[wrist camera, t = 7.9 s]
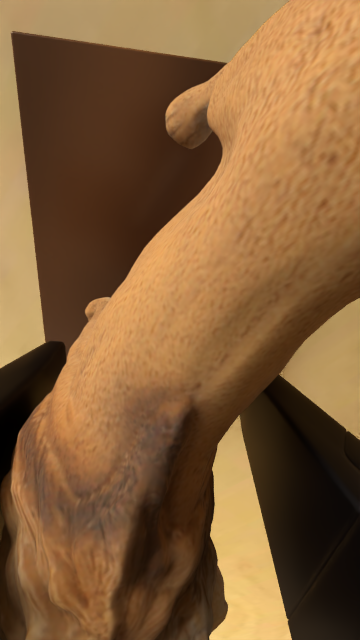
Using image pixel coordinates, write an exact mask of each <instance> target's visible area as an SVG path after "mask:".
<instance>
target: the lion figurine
mask: <svg viewBox="0 0 360 640" xmlns="http://www.w3.org/2000/svg"><path fill="white" fill-rule="evenodd" d="M165 118H166V129H167V132H168V134H169V135H170V137H171V138H172V139H173V140H175V141H176V142H177V143H178V144H180V145H181V146H184V147H186V148H189V149H193V148H195V147H197V146H199V145H200V144H201V143H203V142H204V141H205V140H206V139H207V138H208V136H209V135H210V134H211V132H212V131H213V132H214V133H215V134H216V135H217V136H218V137H219V139H220V141H221V144H222V147H223V155H222V159H221V163H220V165H219V167H218V169H217V171H216V173H215V175H214V176H213V177H212V178H211V180H210V181H209V182H208V183H207V184H206V186H205V187H204V188H203V189H202V190H201V192H200V193H199V194H198V195H197V196H196V197H195V198H194V199H193V200H192V201H191V202H190V203H188V204H187V205H186V206H185V207H184V208H183V209H182V210H181V211H180V212H179V213H178V214H177V215H176V216H174V217H173V218H172V219H171V220H170V221H169V222H168V223H167V224H166V225H165V226H164V227H163V228H162V229H161V230H160V231H159V232H158V233H157V234H156V235H155V236H154V237H153V239H152V240H151V241H150V242H149V243H148V244H147V246H146V247H145V248H144V250H143V251H142V253H141V254H140V256H139V257H138V259H137V260H136V262H135V263H134V265H133V267H132V269H131V270H130V272H129V274H128V276H127V277H126V279H125V280H124V282H123V283H122V284H121V285H120V286H119V287H118V289H117V290H116V291H115V293H114V294H113V295H112V297H111V298H110V297H104V298H99V299H95V300H93V301H92V302H90V303H89V305H88V306H87V308H86V310H85V314H86V316H87V318H88V321H89V322H88V323H87V325H86V326H85V327H84V329H83V330H82V332H81V334H80V336H79V338H78V339H77V340H76V341H75V342H74V343H73V345H72V346H71V348H70V350H69V353H68V356H67V363H66V365H65V366H64V367H63V369H62V371H61V373H60V375H59V377H58V379H57V381H56V383H55V386H54V388H53V390H52V391H51V393H49V394H48V395H47V396H46V397H45V398H44V399H43V401H42V402H41V403H40V404H39V405H38V406H37V407H36V408H35V409H34V411H33V412H32V413H31V415H30V416H29V418H28V419H27V421H26V422H25V424H24V425H23V427H22V428H21V430H20V431H19V434H18V438H17V442H16V445H15V447H14V450H13V453H12V459H11V469H10V471H9V472H8V474H7V475H6V476H5V477H4V478H3V481H2V483H1V488H0V504H1V510H2V514H3V519H4V526H3V531H2V536H1V541H0V640H209V636H210V634H211V632H212V631H213V630H215V629H216V628H217V627H218V626H219V625H220V624H221V623H222V622H223V621H224V619H225V617H226V614H227V611H228V605H227V602H226V601H225V596H224V581H223V577H222V575H221V572H220V570H219V567H218V566H217V561H218V559H217V554H216V550H215V547H214V544H213V542H212V539H211V537H210V532H211V523H212V521H213V514H214V505H215V503H214V476H213V471H212V467H213V463H214V459H215V455H216V452H217V445H218V443H219V442H220V440H221V439H222V437H223V436H224V435H225V433H226V432H227V430H228V429H229V428H230V426H231V425H232V423H233V422H234V421H235V420H236V418H237V417H238V416H239V415H240V414H241V413H242V412H243V411H244V410H245V409H246V408H247V407H248V406H249V405H250V404H251V403H252V402H253V401H254V400H255V399H256V397H257V396H258V395H259V394H260V393H261V392H262V391H263V390H264V389H265V388H266V387H267V386H268V385H269V384H270V383H271V382H272V381H273V380H274V379H275V378H276V377H277V376H278V375H279V374H280V373H281V371H282V370H283V369H284V367H285V366H286V364H287V363H288V361H289V360H290V359H291V357H292V356H293V354H294V353H295V352H296V350H297V349H298V348H299V347H300V346H301V344H302V343H303V342H304V341H305V340H306V339H307V338H308V337H309V336H310V335H311V334H313V333H314V332H315V331H316V330H317V329H318V328H319V327H320V326H322V325H323V324H324V323H325V322H326V321H327V320H328V319H329V318H331V317H332V316H333V315H334V314H336V313H337V312H338V311H340V310H341V309H342V308H344V307H345V306H346V305H348V304H349V303H351V302H353V301H355V300H356V299H358V298H360V0H290V1H289V2H288V3H286V4H285V5H284V6H283V7H282V8H281V9H279V10H278V11H277V12H276V13H275V14H274V15H273V16H272V17H270V18H269V19H268V20H267V21H266V22H265V23H264V24H263V25H262V26H261V27H260V28H259V29H258V31H257V32H256V33H255V34H254V35H253V36H252V37H251V38H250V39H249V40H248V42H247V43H246V44H245V45H244V46H243V47H242V48H241V49H240V50H239V51H238V52H237V54H236V55H235V56H234V58H233V59H232V60H231V62H229V63H228V64H226V65H225V66H224V67H223V68H222V69H221V70H220V71H219V72H218V73H217V74H216V75H214V76H213V77H212V78H211V79H210V80H209V81H207V82H205V83H203V84H200V85H197V86H195V87H192V88H190V89H189V90H187V91H185V92H184V93H182V94H180V95H179V96H178V97H176V98H175V99H174V100H173V101H172V102H171V103H170V105H169V107H168V109H167V111H166V115H165Z"/></svg>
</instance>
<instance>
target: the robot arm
mask: <svg viewBox="0 0 360 640" xmlns="http://www.w3.org/2000/svg"><path fill="white" fill-rule="evenodd" d="M66 363H67V361H66V348H65V344H64V342H60V341H48V342H46V343H44V344H42V345H41V346H39V347H37V348H35V349H34V350H32V351H30V352H28V353H27V354H25V355H23V356H21V357H20V358H18V359H16V360H14V361H13V362H11V363H9V364H7V365H5V366H4V367H2V368H0V488H1V483H2V481H3V478H4V477H5V476H6V475H7V474H8V472H9V471H10V469H11V459H12V453H13V450H14V447H15V445H16V442H17V438H18V434H19V431H20V430H21V428H22V427H23V425H24V424H25V422H26V421H27V419H28V418H29V416H30V415H31V413H32V412H33V411H34V409H35V408H36V407H37V406H38V405H39V404H40V403H41V402H42V401H43V399H44V398H45V397H46V396H47V395H48V394H49V393H51V391H52V390H53V388H54V386H55V383H56V381H57V379H58V377H59V375H60V373H61V371H62V369H63V367H64V366H65V365H66ZM240 420H241V428H242V433H243V438H244V442H245V446H246V451H247V455H248V459H249V463H250V467H251V471H252V475H253V480H254V484H255V488H256V492H257V496H258V500H259V504H260V508H261V513H262V517H263V521H264V525H265V529H266V533H267V537H268V542H269V546H270V550H271V554H272V558H273V562H274V566H275V570H276V575H277V579H278V583H279V587H280V591H281V595H282V599H283V604H284V608H285V612H286V616H287V619H289V620H288V625H289V629H290V633H291V637H292V640H360V440H359V439H358V438H356V437H355V436H354V435H353V434H351V433H350V432H349V431H347V432H346V429H345V428H344V427H343V426H341V425H340V424H339V423H338V422H337V421H335V420H334V419H333V418H332V417H330V416H329V415H328V414H327V413H326V412H324V411H323V410H322V409H321V408H319V407H318V406H317V405H316V404H314V403H313V402H312V401H311V400H310V399H308V398H307V397H306V396H305V395H303V394H302V393H301V392H300V391H299V390H297V389H296V388H295V387H294V386H292V385H291V384H290V383H289V382H288V381H286V380H285V379H284V378H283V377H281V376H280V375H278V376H277V377H276V378H275V379H274V380H273V381H272V382H271V383H270V384H269V385H268V386H267V387H266V388H265V389H264V390H263V391H262V392H261V393H260V394H259V395H258V396H257V397H256V399H255V400H254V401H253V402H252V403H251V404H250V405H249V406H248V407H247V408H246V409H245V410H244V411H243V412H242V413H241V414H240ZM3 526H4V519H3V514H2V510H1V504H0V541H1V536H2V531H3Z"/></svg>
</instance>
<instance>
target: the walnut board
mask: <svg viewBox="0 0 360 640" xmlns="http://www.w3.org/2000/svg"><path fill="white" fill-rule="evenodd" d="M11 37H12V46H13V55H14V64H15V73H16V82H17V91H18V100H19V109H20V118H21V127H22V136H23V145H24V154H25V163H26V171H27V180H28V189H29V198H30V207H31V216H32V225H33V234H34V243H35V252H36V261H37V270H38V279H39V288H40V297H41V306H42V315H43V324H44V333H45V342H48V341H60V342H64V344H65V348H66V361H67V356H68V353H69V350H70V348H71V346H72V345H73V343H74V342H75V341H76V340H77V339H78V338H79V336H80V334H81V332H82V330H83V329H84V327H85V326H86V325H87V323H88V322H89V321H88V318H87V316H86V314H85V310H86V308H87V306H88V305H89V303H90V302H92V301H93V300H95V299H99V298H104V297H110V298H111V297H112V295H113V294H114V293H115V291H116V290H117V289H118V287H119V286H120V285H121V284H122V283H123V282H124V280H125V279H126V277H127V276H128V274H129V272H130V270H131V269H132V267H133V265H134V263H135V262H136V260H137V259H138V257H139V256H140V254H141V253H142V251H143V250H144V248H145V247H146V246H147V244H148V243H149V242H150V241H151V240H152V239H153V237H154V236H155V235H156V234H157V233H158V232H159V231H160V230H161V229H162V228H163V227H164V226H165V225H166V224H167V223H168V222H169V221H170V220H171V219H172V218H173V217H174V216H176V215H177V214H178V213H179V212H180V211H181V210H182V209H183V208H184V207H185V206H186V205H187V204H188V203H190V202H191V201H192V200H193V199H194V198H195V197H196V196H197V195H198V194H199V193H200V192H201V190H202V189H203V188H204V187H205V186H206V184H207V183H208V182H209V181H210V180H211V178H212V177H213V176H214V175H215V173H216V171H217V169H218V167H219V165H220V163H221V159H222V155H223V147H222V144H221V141H220V139H219V137H218V136H217V135H216V134H215V133H214V132H213V131H212V132H211V134H210V135H209V136H208V138H207V139H206V140H205V141H204V142H203V143H201V144H200V145H199V146H197V147H195V148H193V149H189V148H186V147H184V146H181V145H180V144H178V143H177V142H176V141H175V140H173V139H172V138H171V137H170V135H169V134H168V132H167V129H166V118H165V115H166V111H167V109H168V107H169V105H170V103H171V102H172V101H173V100H174V99H175V98H176V97H178V96H179V95H180V94H182V93H184V92H185V91H187V90H189V89H190V88H192V87H195V86H197V85H200V84H203V83H205V82H207V81H209V80H210V79H211V78H212V77H213V76H214V75H216V74H217V73H218V72H219V71H220V70H221V69H222V68H223V67H224V66H225V65H226V64H228V63H223V62H217V61H210V60H203V59H197V58H190V57H183V56H176V55H170V54H163V53H156V52H150V51H143V50H136V49H130V48H123V47H116V46H109V45H103V44H96V43H89V42H83V41H76V40H69V39H62V38H56V37H49V36H42V35H36V34H29V33H22V32H16V31H12V32H11Z"/></svg>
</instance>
